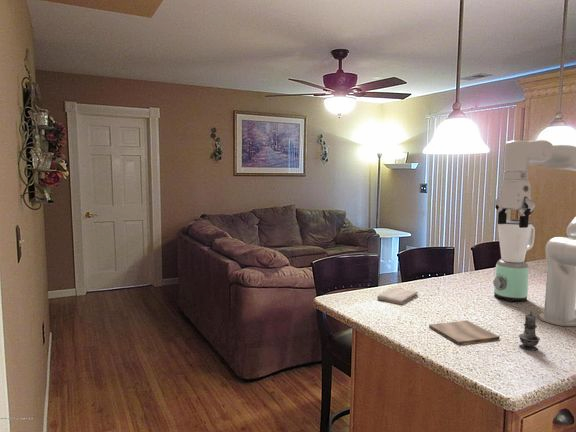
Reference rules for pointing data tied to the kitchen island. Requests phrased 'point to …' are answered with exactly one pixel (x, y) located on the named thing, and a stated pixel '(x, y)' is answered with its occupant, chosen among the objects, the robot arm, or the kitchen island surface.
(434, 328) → the walnut board
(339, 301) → the kitchen island surface
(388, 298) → the washcloth
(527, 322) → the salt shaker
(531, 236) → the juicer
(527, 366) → the kitchen island surface
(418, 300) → the kitchen island surface
